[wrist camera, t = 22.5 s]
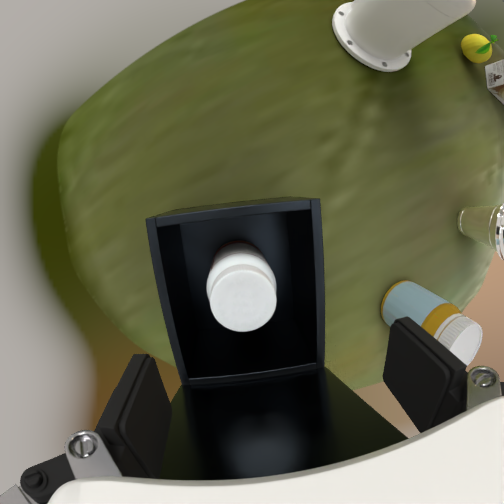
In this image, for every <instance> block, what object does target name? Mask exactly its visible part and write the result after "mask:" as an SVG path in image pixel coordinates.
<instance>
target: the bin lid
mask: <svg viewBox="0 0 504 504" xmlns="http://www.w3.org/2000/svg"><path fill="white" fill-rule="evenodd" d="M170 404H171V406H172V419H171V423H170V428H169V433H168V438H167V443H166V448H165V453H164V458H163V463H162V468H161V473H160V478H159V479H164V480H233V479H247V478H257V477H266V476H273V475H280V474H287V473H293V472H298V471H304V470H309V469H313V468H318V467H322V466H327V465H331V464H335V463H338V462H342V461H346V460H349V459H353V458H356V457H359V456H363V455H366V454H369V453H372V452H375V451H378V450H381V449H383V448H386V447H389V446H391V445H394V444H397V443H399V442H402V441H404V440H407V439H409V438H407V437H406V436H405V435H404V434H403V433H401V432H400V431H399V430H398V429H397V428H395V427H394V426H393V425H392V424H391V423H389V422H388V421H387V420H386V419H385V418H384V417H382V416H381V415H380V414H379V413H378V412H376V411H375V410H374V409H373V408H372V407H371V406H369V405H368V404H367V403H366V402H364V400H363V399H361V398H360V397H359V396H358V395H357V394H356V393H354V392H353V391H352V390H351V389H350V388H349V387H348V386H347V385H345V384H344V383H343V382H342V381H341V380H340V379H339V378H337V377H336V376H335V375H334V374H333V373H332V372H331V371H330V370H329V369H327V368H326V367H321V368H317V369H312V370H306V371H301V372H295V373H290V374H284V375H277V376H271V377H264V378H257V379H249V380H240V381H231V382H220V383H208V384H192V385H181V386H180V388H179V389H178V391H177V393H176V394H175V396H174V398H173V399H172V401H171V403H170Z"/></svg>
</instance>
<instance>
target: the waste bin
mask: <svg viewBox="0 0 504 504" xmlns="http://www.w3.org/2000/svg"><path fill="white" fill-rule="evenodd" d="M146 226H147V233H148V239H149V245H150V251H151V257H152V263H153V268H154V273H155V279H156V284H157V288H158V293H159V298H160V303H161V307H162V311H163V316H164V320H165V324H166V328H167V332H168V336H169V340H170V344H171V348H172V351H173V355H174V359H175V362H176V366H177V369H178V373H179V376H180V379H181V383H182V385H190V384H191V385H192V384H208V383H220V382H231V381H240V380H249V379H257V378H264V377H271V376H277V375H284V374H290V373H295V372H301V371H306V370H312V369H317V368H321V367H324V360H325V284H324V256H323V236H322V220H321V207H320V199H317V198H304V197H280V198H270V199H260V200H250V201H241V202H232V203H223V204H215V205H207V206H200V207H192V208H185V209H178V210H172V211H169V212H165V213H162V214H159V215H156V216H153V217H150V218H147V219H146ZM232 241H246V242H249V243H251V244H253V245H255V246H256V247H257V248H258V249H259V250H260V251H261V252H262V254H263V255H264V257H265V259H266V261H267V263H268V264H269V266H270V268H271V270H272V271H273V273H274V276H275V280H276V298H277V302H276V308H275V311H274V313H273V315H272V317H271V318H270V320H269V321H268V322H267V323H266V324H264V325H263V326H261V327H260V328H258V329H255V330H252V331H247V332H238V331H233V330H230V329H228V328H226V327H224V326H223V325H222V324H220V323H219V322H218V321H217V320H216V318H215V317H214V315H213V313H212V311H211V307H210V301H209V299H208V295H207V279H208V276H209V272H210V268H211V264H212V260H213V257H214V255H215V253H216V252H217V251H218V249H219V248H221V247H222V246H223V245H225V244H226V243H229V242H232Z"/></svg>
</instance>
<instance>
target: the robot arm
mask: <svg viewBox="0 0 504 504" xmlns="http://www.w3.org/2000/svg"><path fill="white" fill-rule="evenodd" d="M502 1H503V2H504V0H502ZM475 4H476V0H354V1H353V2H349V3H345V4H343V5H341V6H340V7H339V8H338V9H337V10H336V12H335V13H334V15H333V19H332V26H333V30H334V33H335V35H336V37H337V39H338V40H339V42H340V43H341V45H342V46H343V47H344V48H345V49H346V50H347V52H348V53H350V54H351V55H352V56H353V57H354V58H355V59H357V60H358V61H360V62H361V63H363V64H365V65H367V66H369V67H371V68H373V69H376V70H379V71H384V72H393V71H398V70H400V69H402V68H403V67H404V66H406V65H407V64H408V62H409V61H410V58H411V49H412V48H413V47H415V46H416V45H418V44H420V43H421V42H423V41H424V40H426V39H427V38H429V37H430V36H432V35H434V34H435V33H437V32H438V31H440V30H442V29H443V28H445V27H447V26H448V25H450V24H452V23H453V22H455V21H457V20H458V19H460V18H462V17H463V16H465V15H467V14H468V13H470V12H471V10H473V8H474V6H475ZM466 367H467V365H466V364H465V363H463V362H462V361H461V360H460V359H459V358H458V357H456V356H455V355H454V354H453V353H452V352H451V351H450V350H448V349H447V348H446V347H445V346H444V345H442V344H441V343H440V342H439V341H438V340H437V339H435V338H434V337H433V336H432V335H431V334H429V333H428V332H427V331H426V330H425V329H423V328H422V327H421V326H420V325H418V324H417V323H416V322H415V321H414V320H412V319H411V318H410V317H408V316H406V317H402V318H399V319H396V320H395V321H394V323H393V324H391V327H390V334H389V341H388V348H387V355H386V361H385V366H384V372H383V380H384V382H385V384H386V385H387V387H388V388H389V389H390V391H391V392H392V394H393V395H394V396H395V398H396V399H397V401H398V402H399V403H400V405H401V406H402V408H403V409H404V410H405V412H406V413H407V415H408V416H409V417H410V419H411V420H412V422H413V423H414V425H415V426H416V427H417V429H418V430H419V432H420V434H418V435H416V436H414V437H411V438H409V439H407V440H404V441H402V442H399V443H397V444H394V445H391V446H389V447H386V448H383V449H381V450H378V451H375V452H372V453H369V454H366V455H363V456H359V457H356V458H353V459H349V460H346V461H342V462H338V463H335V464H331V465H327V466H322V467H318V468H313V469H309V470H304V471H298V472H293V473H287V474H280V475H273V476H266V477H257V478H247V479H233V480H164V479H159V478H160V473H161V468H162V463H163V458H164V453H165V448H166V443H167V438H168V433H169V428H170V423H171V419H172V406H171V404H170V401H169V399H168V396H167V393H166V391H165V388H164V385H163V382H162V380H161V377H160V374H159V371H158V368H157V365H156V362H155V359H154V358H153V357H152V358H151V357H150V356H149V355H148V354H134V355H133V356H132V358H131V360H130V362H129V364H128V366H127V368H126V370H125V372H124V374H123V376H122V378H121V379H120V382H119V383H118V386H117V387H116V388H115V389H114V391H113V393H112V395H111V398H110V400H109V401H108V403H107V406H106V408H105V410H104V412H103V414H102V416H101V418H100V420H99V422H98V424H97V426H96V429H95V431H90V430H82V431H78V432H76V433H74V434H72V435H71V436H70V437H69V438H68V439H67V441H66V442H65V447H64V448H65V454H62V455H60V456H57V457H55V458H53V459H50V460H48V461H45V462H43V463H40V464H37V465H35V466H32V467H30V468H28V469H26V470H25V471H24V473H23V474H22V476H21V480H20V483H21V486H19V487H18V486H17V485H14V486H13V487H11V488H10V489H9V490H7V491H6V492H5V493H3V494H2V495H0V504H504V382H500V378H499V375H498V374H497V372H496V371H495V370H493V369H492V368H490V367H486V366H477V367H474V368H472V369H471V370H470V371H469V372H466V371H465V369H466Z"/></svg>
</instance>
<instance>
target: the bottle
mask: <svg viewBox="0 0 504 504" xmlns="http://www.w3.org/2000/svg"><path fill="white" fill-rule="evenodd" d="M381 315H382V318H383V320H384V321H385V322H386V323H387V324H388V325H389V326H390V327H391V324H393V323H394V321H395V320H396V319H399V318H402V317H406V316H408V317H410V318H411V319H412V320H414V321H415V322H416V323H417V324H418V325H420V326H421V327H422V328H423V329H425V330H426V331H427V332H428V333H429V334H431V335H432V336H433V337H434V338H435V339H437V340H438V341H439V342H440V343H441V344H442V345H444V346H445V347H446V348H447V349H448V350H450V351H451V352H452V353H453V354H454V355H455V356H456V357H458V358H459V359H460V360H461V361H462V362H463V363H465V364H466V365H468V364H469V363H470V362H471V361H472V360H473V358H474V357H475V355H476V353H477V351H478V349H479V347H480V344H481V341H482V328H481V326H480V325H479V324H478V323H476V322H474V321H473V320H471V319H470V318H468V317H466V316H464V315H462V314H461V312H460V310H459V309H458V308H457V307H456V306H455V305H453V304H452V303H450V302H448V301H446V300H445V299H443V298H441V297H439V296H437V295H436V294H434V293H432V292H430V291H428V290H427V289H425V288H423V287H421V286H419V285H417V284H416V283H414V282H411V281H408V280H404V281H400V282H398V283H396V284H394V285H393V286H392V287H391V288H390V289H389V290H388V291H387V293H386V294H385V296H384V298H383V301H382V304H381Z"/></svg>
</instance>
